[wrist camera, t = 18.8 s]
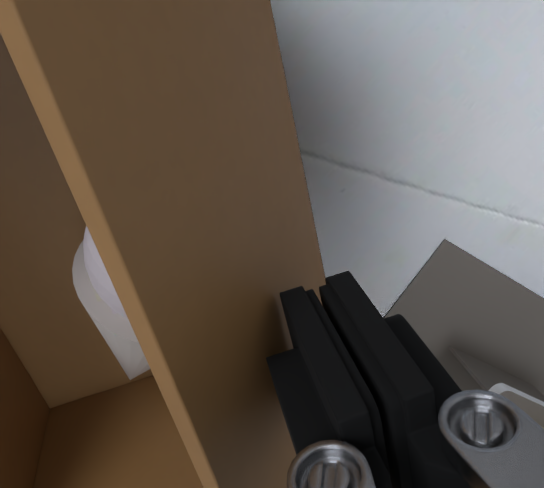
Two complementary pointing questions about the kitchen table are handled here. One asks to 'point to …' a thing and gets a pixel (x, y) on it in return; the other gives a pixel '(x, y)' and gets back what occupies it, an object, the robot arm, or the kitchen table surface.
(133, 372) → the ice cream cone
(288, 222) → the flap
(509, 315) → the platform
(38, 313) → the carton
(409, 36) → the kitchen table surface
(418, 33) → the kitchen table surface
